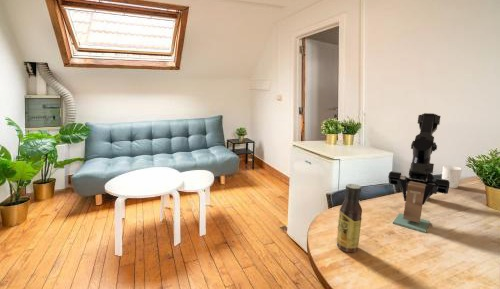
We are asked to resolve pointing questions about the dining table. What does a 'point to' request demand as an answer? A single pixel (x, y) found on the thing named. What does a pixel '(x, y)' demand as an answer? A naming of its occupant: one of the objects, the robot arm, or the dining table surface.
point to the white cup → (451, 175)
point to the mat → (412, 223)
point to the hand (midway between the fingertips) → (413, 202)
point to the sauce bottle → (350, 220)
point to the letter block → (414, 201)
